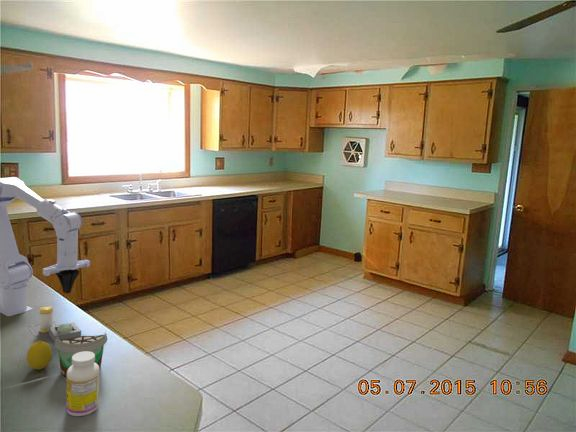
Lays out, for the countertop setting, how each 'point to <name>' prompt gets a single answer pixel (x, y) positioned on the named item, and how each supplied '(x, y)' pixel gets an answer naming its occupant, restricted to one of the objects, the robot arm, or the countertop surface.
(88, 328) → the countertop surface
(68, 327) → the button
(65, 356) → the food container
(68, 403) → the supplement bottle
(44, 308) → the two-tone rounded cylinder
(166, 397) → the countertop surface
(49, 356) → the lemon
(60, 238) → the robot arm
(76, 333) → the button housing
